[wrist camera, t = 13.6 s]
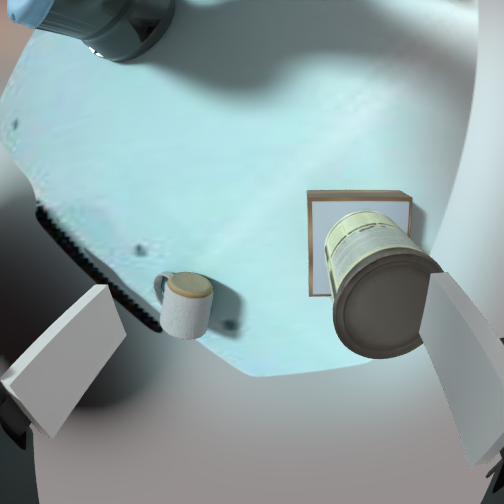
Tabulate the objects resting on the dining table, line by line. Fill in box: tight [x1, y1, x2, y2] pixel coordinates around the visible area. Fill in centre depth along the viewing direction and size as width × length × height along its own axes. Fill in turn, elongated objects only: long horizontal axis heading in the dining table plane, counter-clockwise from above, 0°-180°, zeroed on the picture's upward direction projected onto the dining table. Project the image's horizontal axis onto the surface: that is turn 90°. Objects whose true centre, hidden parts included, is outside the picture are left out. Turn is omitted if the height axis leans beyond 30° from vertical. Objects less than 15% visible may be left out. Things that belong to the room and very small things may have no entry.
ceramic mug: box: [153, 272, 213, 340], centre depth 43 cm, size 11×8×8 cm
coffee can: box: [324, 210, 444, 359], centre depth 28 cm, size 10×10×14 cm
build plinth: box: [307, 190, 412, 297], centre depth 37 cm, size 13×13×5 cm
